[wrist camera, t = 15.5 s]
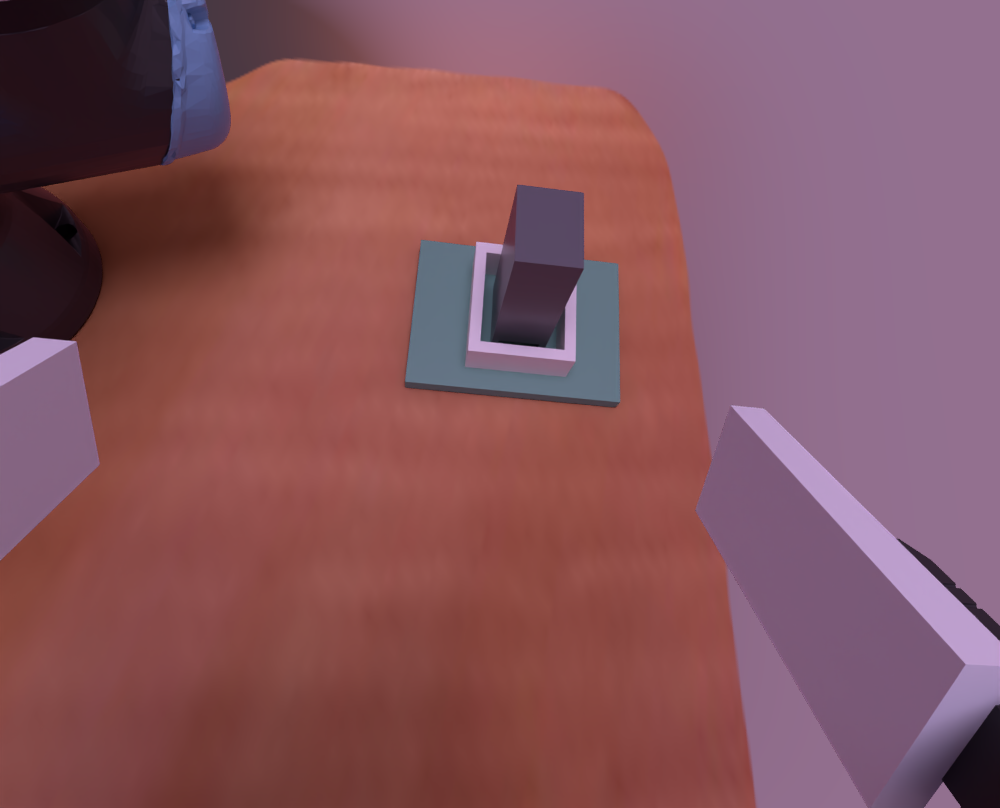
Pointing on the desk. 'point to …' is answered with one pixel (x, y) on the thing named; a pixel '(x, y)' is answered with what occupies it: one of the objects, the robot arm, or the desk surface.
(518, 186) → the block
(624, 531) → the desk surface
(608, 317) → the board
